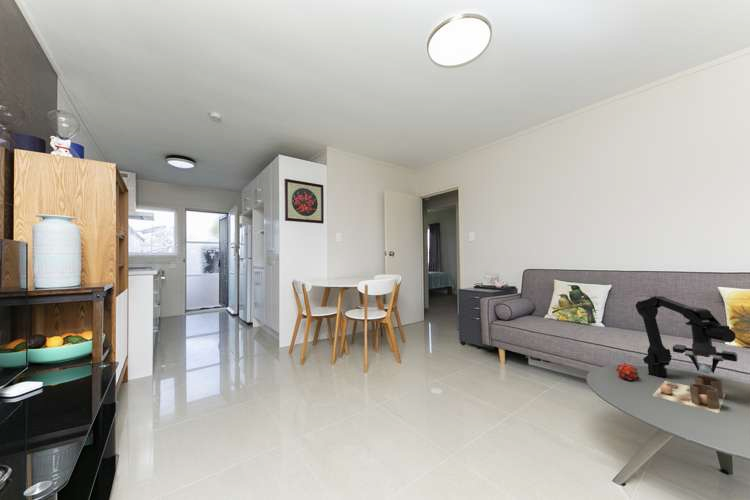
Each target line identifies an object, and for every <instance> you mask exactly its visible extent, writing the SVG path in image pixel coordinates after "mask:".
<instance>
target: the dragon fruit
mask: <svg viewBox="0 0 750 500" xmlns="http://www.w3.org/2000/svg"><path fill="white" fill-rule="evenodd" d="M637 370H638V368H637V367H635V366H633V365H632V364H630V363H626V362H623V363H622V364H618V365H617V368H616V370H615V371H616V373H617V374H618V376H619V377H620V378H621V379H624V380H627V381H636V380H638V379H640V374H639V372H638V371H637Z"/></svg>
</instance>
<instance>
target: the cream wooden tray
mask: <svg viewBox="0 0 750 500" xmlns="http://www.w3.org/2000/svg"><path fill="white" fill-rule="evenodd" d="M694 380H695V383H690V384H689V385H687V384H682V383H677V382H672V381H669V380H668V381H667V380H664V382H662V383H661V385H668V386H670V387H671V388H672V390H673V392H672V394H665V393H663V392H662V391H661V390H660V386H659V387H658V388H657V390H656V391H655V392H654V393H653V394H652V397H656V398H659V399H663V400H667V401H671V402H675V403H679V404H682V405H687V406H689V407H690V406H691V407H695V408H698V409H701V410H705V411H710V412H712V413H716V414H717V413H718V414H719V413H720V410H721V407H722V404H723V402H724V399H725V396H726V394H725V393H724V392H723V383H722V382H723V381H722V380H721V379H719V378H716V377H712V376H708V375H695V377H694ZM707 385H709V386H707ZM700 394H705V395H707V403H708V405H705V404H702V403H701V402H700V397H699V395H700Z"/></svg>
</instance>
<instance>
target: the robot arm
mask: <svg viewBox="0 0 750 500" xmlns="http://www.w3.org/2000/svg"><path fill="white" fill-rule="evenodd" d="M661 307H663V308H665V309H669V310H671V311H673V312H676V313H679V314H681V316H683V318H685V319H686V320H688V321H687V322H685V325H687V326H690V328H691V329H690V330H691V337H692V344H691V347H687V345H684V344H676V343H675V344H674V345H673V346H672V352H673V353H677V354H684V356H685V357H688V358H690V360H691V361H692V363H693V365H694V366H695V368H696V370H697V371H700V370H699V365H700V364H699V360H698V357H700V356H701V357H704V358H710V356H711V357H712V359H711V360H712V365H711V368H712V372H711V373H712V374H715V371H716V368H717V366H718V364H719V362H724V360H725V361H730V362H738V360H739V358H738V357H739V356H738V353H736V352H735V351H727V350H722V351H721V352H719V351H717V347H716V346H713V341H712V340H716V341H722V342H724V343H725V342H726V343H732V342H734V341H735V340H736V337H737V336H736V335H737V334H736V333H735V332H734V331H733V330H732V329H731V328H730V326H729V325H725V324H724V325H722V324H721V323H720V321H719V320H717V318H716V317H715V316H714V315H713V314H712V312H711V310H709V309H707V308H702V307H696V306H691V305H687V304H685V303H684V304H683V303H681V302H678V301H675V300H673V299H669V298H667V297H665V296H663V295H661V296H660V295H658V296H652V297H650V298H647V299H644V300H640V301H637V302H636V303H635V308H636V311H637V313H638V315H640V316H641V317H642V320H643V323H644V327H645V330H646V335H647V339H648V342H649V346H648V348H647V355H646V356H644V357H643V358H642V360H643V363H644V364H647V368H648V369H647V370H648V373H647V376H652V377H656V378H661V379H666V378H668V377H669V374H668V368H667V367H666V366H669V365H670V363H671V362H672V358H673V356H672V354H671V350H670V348H666V347H665V346H664V344H663V341H662V337H661V334H660V329H659V325H658V322H657V315H658V313H659V310H658V309H659V308H661ZM697 356H698V357H697Z"/></svg>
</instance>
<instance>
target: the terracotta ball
mask: <svg viewBox="0 0 750 500" xmlns="http://www.w3.org/2000/svg"><path fill="white" fill-rule="evenodd" d="M659 387H660V390H661V391H662V392H663V393H665V394H672V392H673V390H672V388H671V387H670V386H668V385H662V384H661V385H660V386H659Z"/></svg>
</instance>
